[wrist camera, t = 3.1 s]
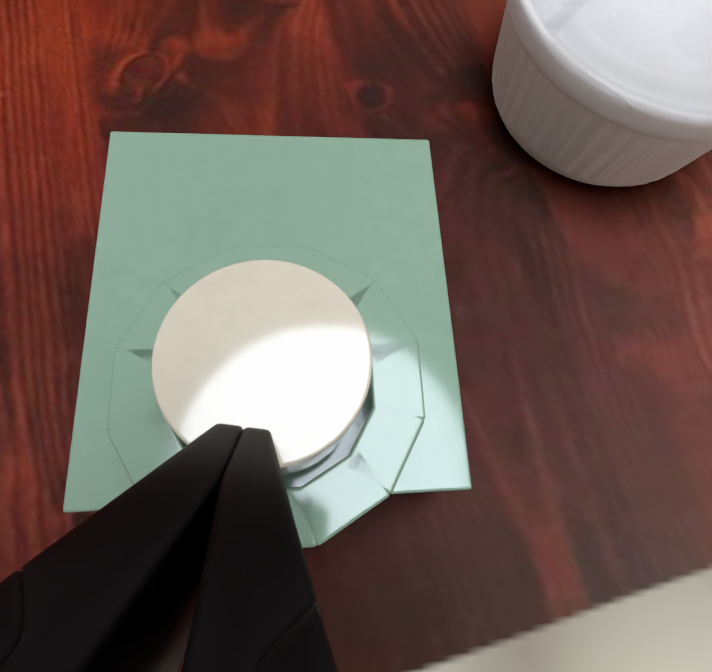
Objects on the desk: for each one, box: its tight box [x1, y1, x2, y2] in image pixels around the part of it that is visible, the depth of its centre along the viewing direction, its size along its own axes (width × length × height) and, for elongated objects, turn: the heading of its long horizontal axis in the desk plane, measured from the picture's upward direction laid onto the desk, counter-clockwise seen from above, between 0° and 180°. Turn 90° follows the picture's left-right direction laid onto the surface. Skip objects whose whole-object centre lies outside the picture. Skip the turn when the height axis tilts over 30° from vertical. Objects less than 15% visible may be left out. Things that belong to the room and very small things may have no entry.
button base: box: [63, 132, 472, 548], centre depth 15 cm, size 12×10×6 cm
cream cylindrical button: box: [151, 260, 372, 475], centre depth 10 cm, size 4×4×2 cm
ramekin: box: [492, 0, 712, 187], centre depth 20 cm, size 11×11×5 cm
